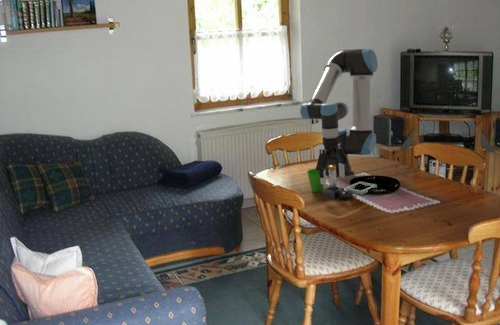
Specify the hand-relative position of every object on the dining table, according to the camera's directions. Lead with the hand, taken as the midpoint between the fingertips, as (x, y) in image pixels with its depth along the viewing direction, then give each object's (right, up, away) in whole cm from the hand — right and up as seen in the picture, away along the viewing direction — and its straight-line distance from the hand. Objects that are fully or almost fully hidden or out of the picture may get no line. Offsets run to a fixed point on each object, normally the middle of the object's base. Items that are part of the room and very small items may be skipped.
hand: (332, 180), depth 279 cm
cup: (-6, -6, +10) cm, 13 cm away
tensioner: (+3, -8, 0) cm, 9 cm away
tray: (+14, -5, +6) cm, 16 cm away
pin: (+1, -7, +2) cm, 7 cm away
